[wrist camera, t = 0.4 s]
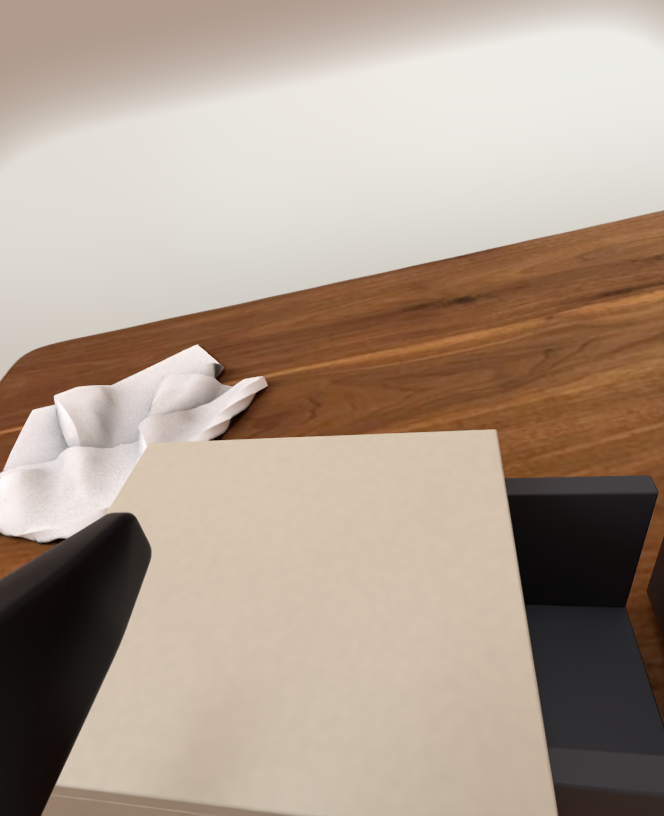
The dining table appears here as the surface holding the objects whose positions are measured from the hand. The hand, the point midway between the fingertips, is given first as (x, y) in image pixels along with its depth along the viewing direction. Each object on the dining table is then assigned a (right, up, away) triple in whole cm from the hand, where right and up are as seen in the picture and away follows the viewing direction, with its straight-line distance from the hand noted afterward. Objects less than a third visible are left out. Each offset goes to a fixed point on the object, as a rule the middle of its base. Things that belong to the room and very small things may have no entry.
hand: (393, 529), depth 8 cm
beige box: (-1, -10, +13) cm, 17 cm away
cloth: (-16, 0, +32) cm, 36 cm away
